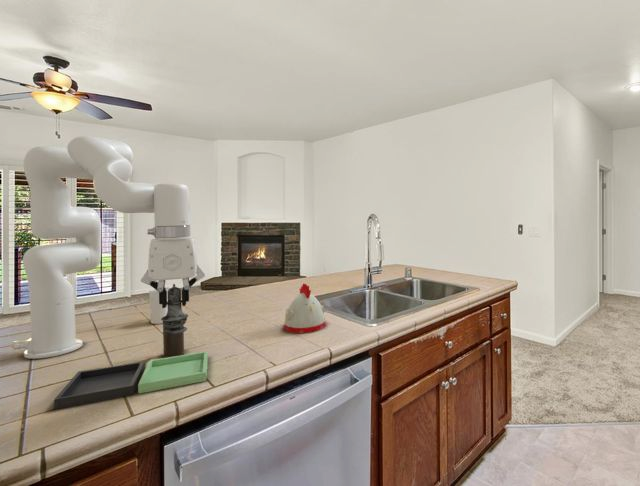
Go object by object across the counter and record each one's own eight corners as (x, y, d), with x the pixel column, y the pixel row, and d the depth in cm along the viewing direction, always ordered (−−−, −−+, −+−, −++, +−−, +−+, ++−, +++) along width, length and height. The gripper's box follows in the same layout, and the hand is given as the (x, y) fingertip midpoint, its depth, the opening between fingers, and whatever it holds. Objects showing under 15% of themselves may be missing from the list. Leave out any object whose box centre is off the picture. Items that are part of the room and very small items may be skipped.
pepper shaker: (162, 359, 101) (161, 320, 101) (164, 352, 106) (164, 315, 106) (183, 355, 104) (182, 317, 103) (184, 349, 108) (184, 312, 108)
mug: (172, 321, 134) (172, 289, 134) (150, 325, 130) (150, 292, 130) (169, 315, 142) (168, 284, 142) (148, 318, 138) (147, 287, 138)
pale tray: (138, 393, 83) (138, 384, 83) (149, 368, 96) (149, 360, 96) (206, 380, 89) (205, 372, 89) (207, 358, 102) (207, 351, 102)
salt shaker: (193, 326, 95) (192, 281, 94) (180, 334, 89) (179, 286, 89) (170, 327, 95) (169, 281, 94) (155, 335, 89) (154, 286, 88)
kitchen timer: (292, 335, 120) (292, 290, 119) (279, 324, 131) (278, 283, 130) (331, 327, 128) (331, 284, 127) (315, 317, 139) (315, 278, 138)
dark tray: (54, 409, 76) (53, 399, 76) (78, 379, 89) (78, 371, 89) (133, 394, 82) (133, 385, 82) (145, 368, 95) (145, 360, 95)
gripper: (128, 235, 84) (131, 314, 85) (209, 232, 91) (211, 305, 92) (135, 233, 91) (137, 306, 91) (210, 231, 98) (211, 298, 99)
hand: (174, 305), depth 92 cm, fingers closed on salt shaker, 3 cm apart
